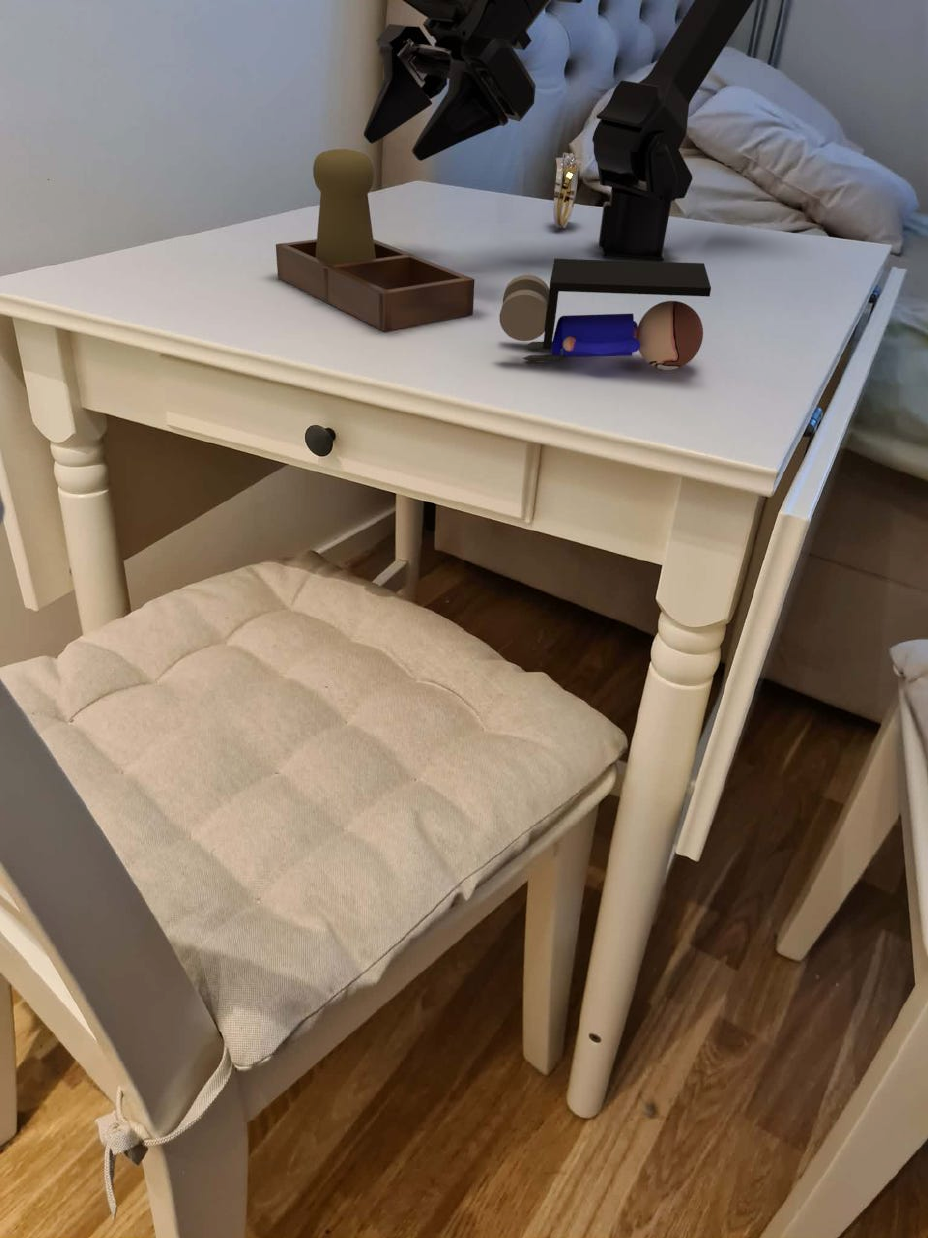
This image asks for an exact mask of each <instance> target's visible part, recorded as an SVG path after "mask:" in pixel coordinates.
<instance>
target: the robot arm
mask: <svg viewBox="0 0 928 1238" xmlns="http://www.w3.org/2000/svg"><path fill="white" fill-rule="evenodd" d="M402 1H403V2H404V3H406V4H407V5H408V6H410V7H411V8H412V9H414V10H416V11H417V12H418V13H420V14H421V15H423V16H424V17H426V19H425V21H424V22H423V23H422V26H423V28H424V29H425V30H426V32H427V33H428V35H429V36H430V37H432V38H433V39H434V40H435V42H434V43H433V44H434V45H432V43H431V42H430V40H429V39H428V37H427V36H426V35H425V33H424V31H423V30H422V29H421V27H420V26H416V25H410V24H409V25H408V24H401V23H388V25H386V27H385V29H384V30H383V31H382V32H381V34H380V35H379V37H377V39H376V40H375V42H376V45H377V47H378V55H379V58H380V59H381V61H382V68H383V79H382V82H381V85H380V88H379V92H378V93H377V96H376V100H375V102H374V104H373V108H372V110H371V113H370V115H369V118H368V120H367V123H366V126H365V128H364V131H363V137H364V138H365V139H366V141H367V142H368V143H369V144H371V145H372V144H375V143H377V142H378V141H380V140H381V139H383V138H385V137H386V136H388V135H389V134H391V133H392V132H394V131H395V130H397V129H398V128H399V127H401V126H403V125H404V124H405V123H407V122H409V121H411V119H412V118H414V117H416V116H417V115H419V114H420V113H422V112H423V111H425V110H426V109H428V108H429V107H431V106H432V105H433V102H432V100H431V99H433V98H436V97H437V96H438V95H439V94H441V93H442V92H443V90H444V89H445V88H446V86H447V85H448V88H447V91H446V93H445V95H444V96H443V98H442V99H441V101H440V103H439V104H438V106H437V107H436V109H435V110H434V112H433V114H432V115H431V117H430V118H429V120H428V122H427V123H426V125H425V127H424V128H423V129H422V131H421V133H420V135H419V136H418V138H417V139H416V141H415V143H414V145H413V147H412V149H411V153H412V154H413V156H414V157H415V158H416V159H417V161H420V162H422V161H424V160H426V159H427V160H428V158H430V157H433V156H434V155H437V154H440V153H441V152H443V151H445V150H447V149H449V148H451V147H453V146H456V145H458V144H460V143H462V142H464V141H466V140H468V139H471V138H473V137H475V136H478V135H481V134H483V133H485V132H487V131H490V130H492V129H494V128H497V127H500V126H501V127H504V126H506V125H507V124H508V123H509V120H512V121H516V122H521V121H522V120H523V118H525V115H526V114H527V113H528V112H529V111H530V110H531V108H532V107H533V105H534V104H535V99H536V87H537V86H536V83H535V82H534V80H533V78H532V77H531V75H530V73H529V72H528V70H527V69H526V67H525V65H524V64H523V62H522V61H521V59H520V57H519V55H518V54H517V53H516V51H515V50H520V51H525V50H526V49H527V47H529V45H530V44H531V42H532V39H531V38H530V35H529V34H528V31H529V30H530V28H531V27H532V25H533V24H534V23H535V22H536V20H538V18H539V17H540V16H541V14H542V13H543V12H544V10H545V9H546V7H547V6H548V5H549V4H550V3H551V1H552V0H402ZM754 1H755V0H694V1H693V2H692V4H691V6H690V7H689V9H688V11H687V12H686V14H685V15H684V17H683V19H682V20H681V21H680V23H679V25H678V27H677V28H676V30H675V31H674V33H673V35H672V36H671V38H670V39H669V42H668V43H667V45H666V46H665V48H664V50H663V51H662V53H661V54H660V56H659V58H658V59H657V61H656V62H655V64H654V66H653V67H652V69H651V70H650V72H649V73H648V75H647V76H646V77H644V78H643V79H642V80H640V81H639V82H635V81H629V80H623V79H622V80H620V82H619V83H618V84H617V85H616V86H615V88H614V90H613V91H612V94H611V96H610V99H609V101H608V102H607V103H606V105H605V106H604V108H603V109H602V110H601V111H600V112H599V113H597V115H596V119H597V120H599V121H598V123H597V125H596V127H595V129H594V131H593V135H592V140H591V141H592V143H593V156H594V160H595V162H596V165H597V171H598V172H597V173H598V178H599V184H600V186H603V187H609V188H610V197H609V201H605V202H604V203H603V207H602V216H601V223H600V229H599V236H598V246H599V248H600V249H601V248H602V249H601V250H602V257H607V258H615V259H627V260H638V261H650V262H665V261H664V260H665V253H664V248H665V247H664V246H665V240H666V236H667V235H666V234H667V228H668V224H669V217H670V213H671V206H672V202H675V201H676V200H679V199H680V200H681V199H685V197H686V196H687V193H688V191H689V188H690V187H691V184H692V181H693V174H692V172H691V171H690V168H689V167H688V164H687V163H686V161H685V159H684V157H683V155H682V153H681V151H680V148H681V146H682V144H683V142H684V140H685V138H686V136H687V131H688V122H689V121H688V120H689V110H690V104H691V102H692V100H693V98H694V97H695V95H696V93H697V92H698V90H699V88H700V87H701V86H702V85H703V82H704V81H705V79H706V78H707V76H708V75H709V73H710V71H711V70H712V68H713V67H714V65H715V63H716V62H717V60H718V59H719V57H720V56H721V54H722V52H723V50H724V49H725V48H726V46H727V44H728V43H729V41H730V39H731V38H732V36H733V35H734V33H736V30H737V28H738V27H739V25H740V24H741V22H742V21H743V19H744V17H745V15H746V14H747V13H748V11H749V9H750V8H751V6H752V5H753V3H754ZM555 2H556V3H557V2H558V3H570V4H571V3H572V4H581V3H582V2H583V0H555Z"/></svg>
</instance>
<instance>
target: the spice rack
mask: <svg viewBox="0 0 928 1238" xmlns="http://www.w3.org/2000/svg"><path fill="white" fill-rule="evenodd" d="M373 239H374V247H375V255H376V259H371V260H364V261H357V262H349V263H342V264H335V265H330V264H328V263H325V262H323V261H321V260H319V259H317V258H315V257H316V245H317V238H316V239H308V240H299V241H289V242H282V243H276V244H275V257H276V269H277V270H276V271H277V279H278V280H281V281H283V282H285V283H287V284H289V285H291V286H293V287H295V288H297V289H299V290H300V291H303V292H305V293H306V294H308V295H311V296H313V297H315V298H317V299H319V300H321V301H323V302H325V303H326V304H329V305H331V306H332V307H335V308H336V309H338V310H341V311H343V312H345V313H346V314H349V315H350V316H353V317H354V318H357V319H359V320H361V321H362V322H364V323H367V324H369V325H370V326H373V327H374V328H376V329H377V330H380V331H382V332H390V331H395V330H400V329H404V328H405V329H406V328H412V327H415V326H416V327H417V326H421V325H427V324H433V323H438V322H442V321H447V320H448V321H449V320H453V319H457V318H464V317H468V316H473V315H474V303H475V301H474V300H475V285H476V284H475V283H476V279H475V278H473V277H471V276H469V275H465V274H463V273H461V272H458V271H456V270H453V269H450V268H448V267H445V266H442V265H440V264H438V263H435V262H433V261H430V260H428V259H425V258H423V257H420V256H418V255H415V254H413V253H410V252H408V251H405V250H402V249H400V248H397V247H394V246H392V245H390V244H387V243H384V242H382V241H380V240H377V239H375V238H373Z"/></svg>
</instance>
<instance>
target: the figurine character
mask: <svg viewBox="0 0 928 1238" xmlns="http://www.w3.org/2000/svg"><path fill="white" fill-rule="evenodd" d="M560 292H567V293H591V294H592V293H593V294H594V293H595V294H597V293H598V294H621V295H622V294H624V295H625V294H626V295H648V296H649V295H652V296H678V297H679V296H680V297H683V296H684V297H709V298H710V297H711V292H712V286H711V282H710V278H709V275H708V272H707V269H706V265H705V263H704V262H679V261H677V262H674V261H673V262H672V261H648V260H613V259H612V260H611V259H609V260H608V259H582V258H581V259H580V258H578V259H577V258H553V263H552V269H551V275H550V279H549V285H548V284H547V283H546V281H545V280H544V279H542V278H540V277H539V276H537V275H533V274H522V275H518V276H516V277H514V278H513V279H512V280H511V281H509V283H507V285H506V287H505V290H504V293H503V296H502V305H501V308H500V311H499V318H498V319H499V324H500V327H501V329H502V330H503V332H504V333H505V334H506V335H507V336H508V337H509V338H511V339H513V340H515V341H520V342H529V341H531V342H529V343H527V344H526V345H524V348H526V349H528V350H530V351H551V354H529V355H527V356H525V357H523V358H522V359H523V360H525V361H527V362H529V363H531V362H533V363H534V362H560V361H562V360H565V359H566V358H591V357H593V358H595V357H597V358H598V357H630V356H633V355H634V354H633V353H637V352H639V354H640V356H641V357H642V359H644V361H645V362H646V363H647V364H649V365H650V366H652V367H653V368H656V369H659V370H664V371H670V370H676V369H680V368H682V367H683V366H686V365H687V364H689V363H690V362H691V361H692V360H693V359H694V358H695V357H696V355H698V353H699V351H700V349H701V347H702V343H703V339H704V327H703V323H702V320H701V318H700V316H699V314H698V313H697V312H696V311H695V309H694V308H693V307H692V306H690V305H688V304H687V303H684V302H681V301H678V300H666V301H662V302H659V303H657V304H655V305H653V306H652V307H650V308H649V309H648V310H647V311H646V312H645V313H644V314H643V315H642V317H641V319H640V320H639V322H637V321H635V319H634V317H635V316H634V313H609V314H608V313H605V314H573V315H572V314H571V315H561V316H560V317H559V318H558V319H557V322H556V315H557V308H558V307H557V306H558V301H559V293H560ZM555 324H556V326H555ZM542 335H544V336H543V341H535V340H536V339H538V338H540V337H541V336H542Z"/></svg>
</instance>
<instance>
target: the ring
mask: <svg viewBox="0 0 928 1238" xmlns="http://www.w3.org/2000/svg"><path fill="white" fill-rule="evenodd" d="M579 156H580V153H578V152H576V153H575V154H574V153H573V152H569V153H568V152H564V151H563V154H562V157H555V162H556V175H555V183H554V191H553V193H554V194H553V202H552V203H553V205H552V213H553V214H552V215H553V222H554V224H555V226H556V227H557V228H558V229H567V225H568V224H569V221H570V219H571V218H572V214H573V211H574V206H575V201H576V198H577V197H576V195H577V189H578V179H579V171H580V166H581V165H582V163H583V160H582V159H579ZM563 177H564V182H563ZM562 184H563V185H562ZM564 203H565V205H564ZM563 208H564V209H563Z"/></svg>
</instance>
